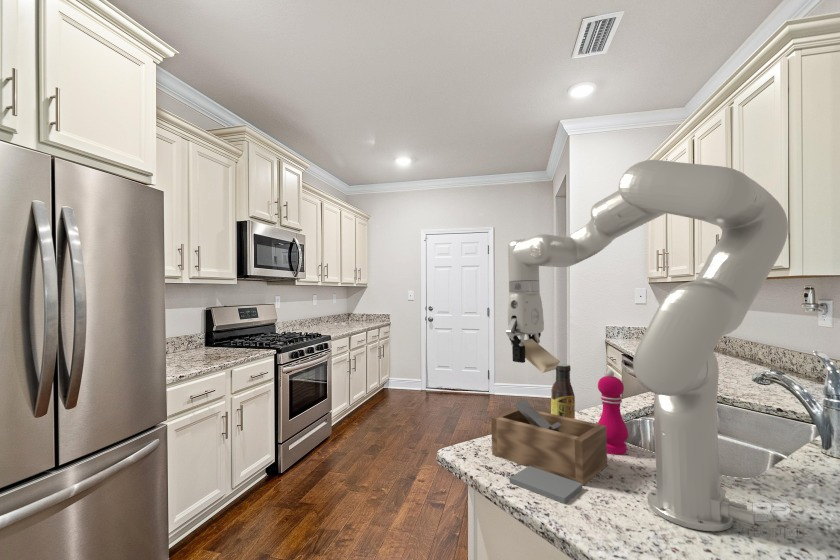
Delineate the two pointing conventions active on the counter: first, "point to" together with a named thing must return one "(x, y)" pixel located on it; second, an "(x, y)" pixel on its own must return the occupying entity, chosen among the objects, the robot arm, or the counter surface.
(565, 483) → the slate board
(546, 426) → the rocker
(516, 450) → the wooden box
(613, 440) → the pepper mill
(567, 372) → the sauce bottle
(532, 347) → the maple block
